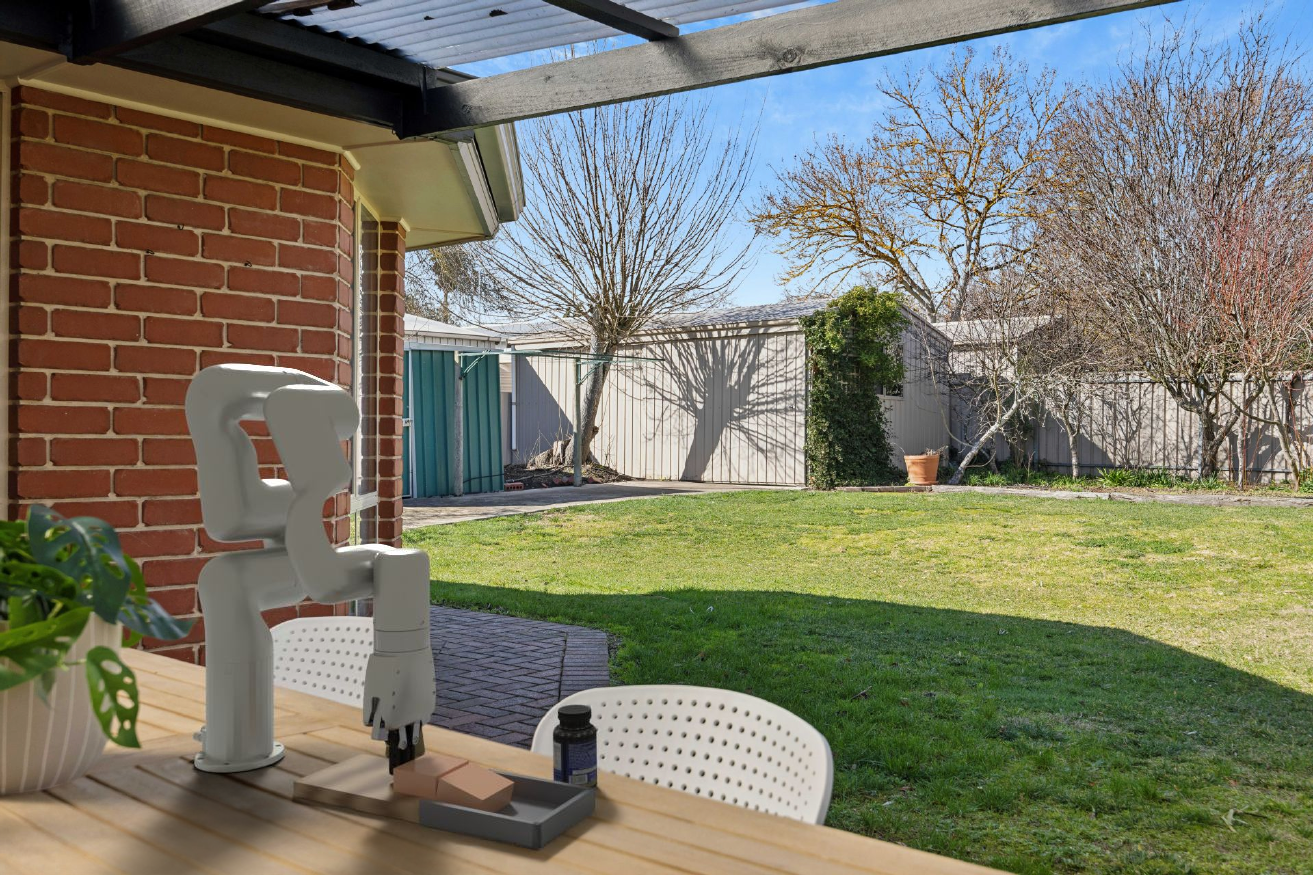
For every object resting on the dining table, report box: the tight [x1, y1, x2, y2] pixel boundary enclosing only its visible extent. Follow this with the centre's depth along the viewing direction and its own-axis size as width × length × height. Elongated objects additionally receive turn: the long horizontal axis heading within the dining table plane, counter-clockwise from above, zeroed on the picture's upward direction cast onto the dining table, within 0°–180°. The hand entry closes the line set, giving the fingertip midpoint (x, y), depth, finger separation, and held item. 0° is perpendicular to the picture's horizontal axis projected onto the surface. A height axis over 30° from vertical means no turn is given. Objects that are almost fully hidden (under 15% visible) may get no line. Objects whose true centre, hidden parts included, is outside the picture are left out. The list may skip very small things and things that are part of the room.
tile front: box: [435, 761, 514, 813], centre depth 127 cm, size 7×7×3 cm
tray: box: [418, 768, 596, 851], centre depth 125 cm, size 18×14×3 cm
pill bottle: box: [552, 704, 598, 789], centre depth 136 cm, size 6×6×11 cm
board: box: [292, 753, 438, 824], centre depth 134 cm, size 22×13×2 cm, turn 64°
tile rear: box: [393, 752, 470, 800], centre depth 131 cm, size 7×7×3 cm
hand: (402, 774), depth 133 cm, fingers closed
